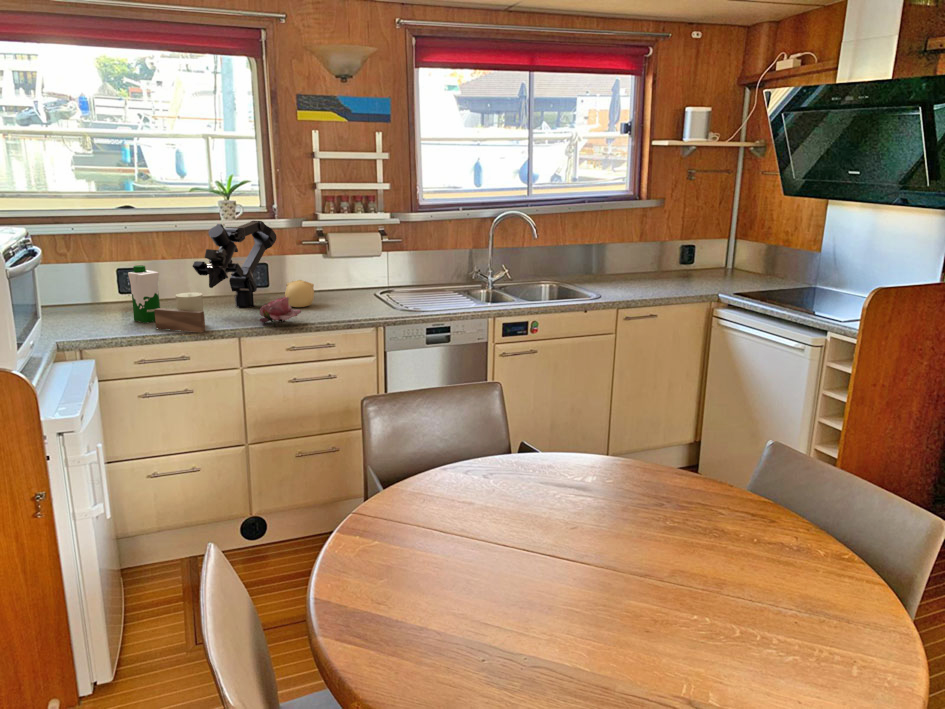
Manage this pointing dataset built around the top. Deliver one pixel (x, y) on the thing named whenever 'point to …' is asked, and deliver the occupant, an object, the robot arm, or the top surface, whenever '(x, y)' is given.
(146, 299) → the milk carton
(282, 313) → the flower
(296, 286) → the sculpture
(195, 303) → the can
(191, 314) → the brown box
